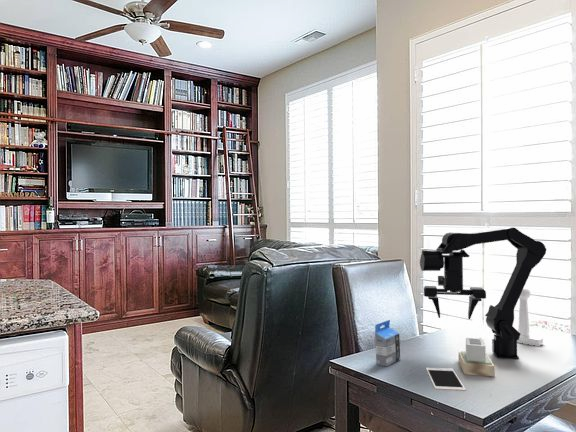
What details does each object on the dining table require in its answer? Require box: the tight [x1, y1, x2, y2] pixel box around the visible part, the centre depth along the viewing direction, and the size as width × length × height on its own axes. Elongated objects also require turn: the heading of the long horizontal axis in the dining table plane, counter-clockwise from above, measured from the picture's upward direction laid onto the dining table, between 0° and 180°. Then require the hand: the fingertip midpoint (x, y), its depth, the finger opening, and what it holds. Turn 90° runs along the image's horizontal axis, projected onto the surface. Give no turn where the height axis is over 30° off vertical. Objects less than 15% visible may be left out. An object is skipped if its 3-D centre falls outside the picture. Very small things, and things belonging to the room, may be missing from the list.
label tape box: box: [374, 319, 401, 367], centre depth 134 cm, size 9×4×12 cm, turn 137°
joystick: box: [517, 286, 544, 347], centre depth 155 cm, size 11×8×20 cm
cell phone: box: [425, 367, 467, 391], centre depth 120 cm, size 8×16×1 cm, turn 171°
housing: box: [465, 337, 487, 362], centre depth 128 cm, size 5×8×5 cm, turn 159°
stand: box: [458, 350, 496, 377], centre depth 128 cm, size 8×12×3 cm, turn 166°
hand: (454, 318), depth 140 cm, fingers open, 9 cm apart
